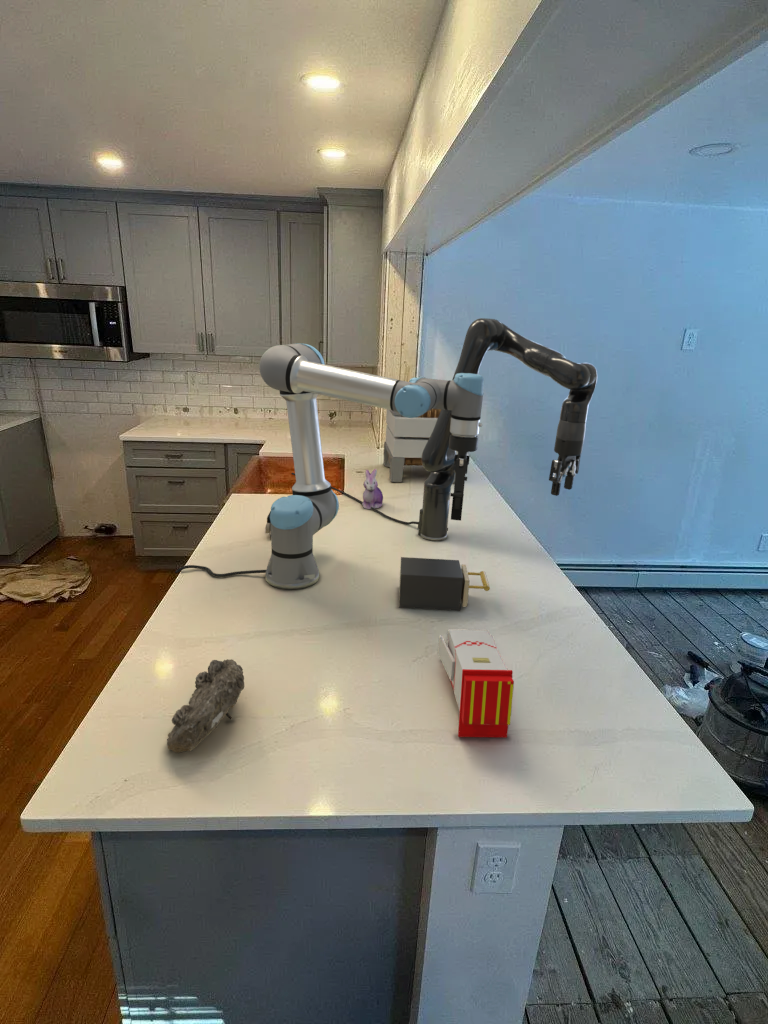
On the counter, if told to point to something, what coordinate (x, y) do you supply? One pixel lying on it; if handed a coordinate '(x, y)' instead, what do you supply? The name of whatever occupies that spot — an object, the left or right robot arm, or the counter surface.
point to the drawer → (466, 585)
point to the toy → (478, 682)
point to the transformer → (407, 440)
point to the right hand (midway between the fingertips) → (561, 491)
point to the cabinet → (430, 584)
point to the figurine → (372, 491)
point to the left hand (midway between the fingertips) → (456, 511)
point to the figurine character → (268, 524)
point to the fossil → (206, 705)
